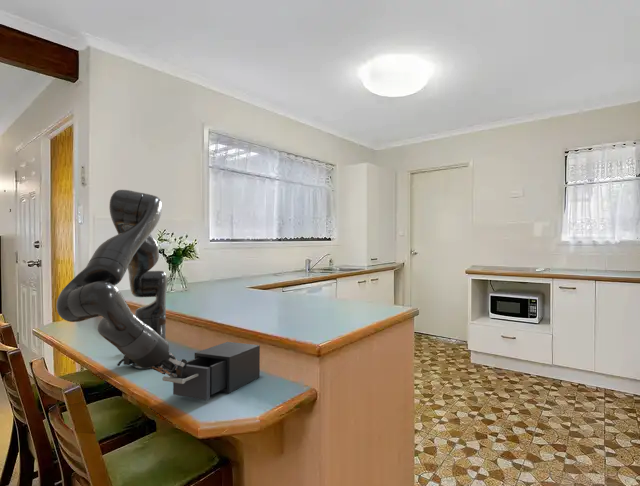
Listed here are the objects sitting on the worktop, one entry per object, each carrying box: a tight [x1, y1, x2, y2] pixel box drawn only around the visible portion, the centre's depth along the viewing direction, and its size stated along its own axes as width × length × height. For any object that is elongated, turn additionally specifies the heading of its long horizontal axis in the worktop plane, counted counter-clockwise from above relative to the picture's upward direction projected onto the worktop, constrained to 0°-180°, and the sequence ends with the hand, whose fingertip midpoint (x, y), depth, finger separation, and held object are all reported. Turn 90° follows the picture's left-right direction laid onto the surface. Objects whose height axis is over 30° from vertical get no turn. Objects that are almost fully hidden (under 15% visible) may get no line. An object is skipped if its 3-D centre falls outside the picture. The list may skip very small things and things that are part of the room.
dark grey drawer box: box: [194, 341, 261, 394], centre depth 112 cm, size 14×13×10 cm
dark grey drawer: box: [162, 357, 227, 401], centre depth 101 cm, size 18×12×8 cm, turn 161°
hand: (184, 379), depth 96 cm, fingers closed
